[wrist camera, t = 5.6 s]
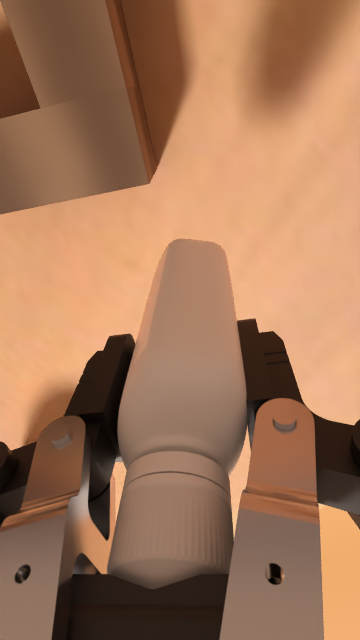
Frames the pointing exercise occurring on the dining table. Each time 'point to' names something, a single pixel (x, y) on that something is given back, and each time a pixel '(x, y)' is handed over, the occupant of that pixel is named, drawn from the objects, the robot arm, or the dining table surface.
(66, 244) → the dining table surface
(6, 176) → the socket block
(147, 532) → the eye dropper bottle
